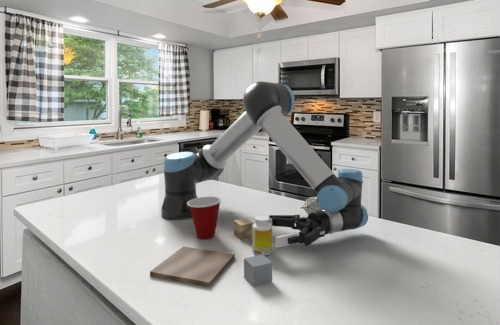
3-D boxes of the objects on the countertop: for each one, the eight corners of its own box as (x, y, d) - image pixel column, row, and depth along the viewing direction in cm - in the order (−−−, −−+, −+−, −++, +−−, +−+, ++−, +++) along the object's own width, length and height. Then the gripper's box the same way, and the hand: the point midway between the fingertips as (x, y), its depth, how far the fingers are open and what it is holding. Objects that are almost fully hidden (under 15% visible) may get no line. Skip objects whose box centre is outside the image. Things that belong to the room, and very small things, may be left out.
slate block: (253, 287, 78) (253, 266, 77) (244, 277, 83) (243, 258, 82) (272, 282, 80) (272, 262, 80) (262, 273, 85) (262, 254, 84)
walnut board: (150, 276, 83) (149, 271, 83) (183, 250, 98) (183, 246, 98) (209, 287, 78) (209, 282, 78) (234, 258, 93) (234, 254, 93)
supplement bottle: (275, 254, 95) (275, 219, 94) (257, 258, 93) (257, 222, 91) (265, 247, 100) (266, 213, 99) (249, 250, 98) (249, 216, 96)
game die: (317, 227, 127) (326, 211, 121) (296, 218, 129) (304, 202, 122) (322, 210, 134) (331, 194, 127) (301, 201, 135) (309, 185, 128)
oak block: (240, 240, 106) (240, 225, 105) (234, 235, 110) (233, 220, 109) (254, 237, 108) (254, 222, 107) (247, 232, 112) (247, 218, 111)
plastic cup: (189, 230, 114) (188, 195, 112) (221, 229, 115) (221, 195, 113) (186, 243, 103) (184, 205, 101) (221, 242, 104) (221, 204, 102)
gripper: (352, 248, 94) (287, 264, 85) (300, 221, 116) (244, 231, 107) (353, 222, 93) (288, 235, 84) (300, 200, 115) (244, 208, 106)
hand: (263, 233), depth 95 cm, fingers open, 13 cm apart
